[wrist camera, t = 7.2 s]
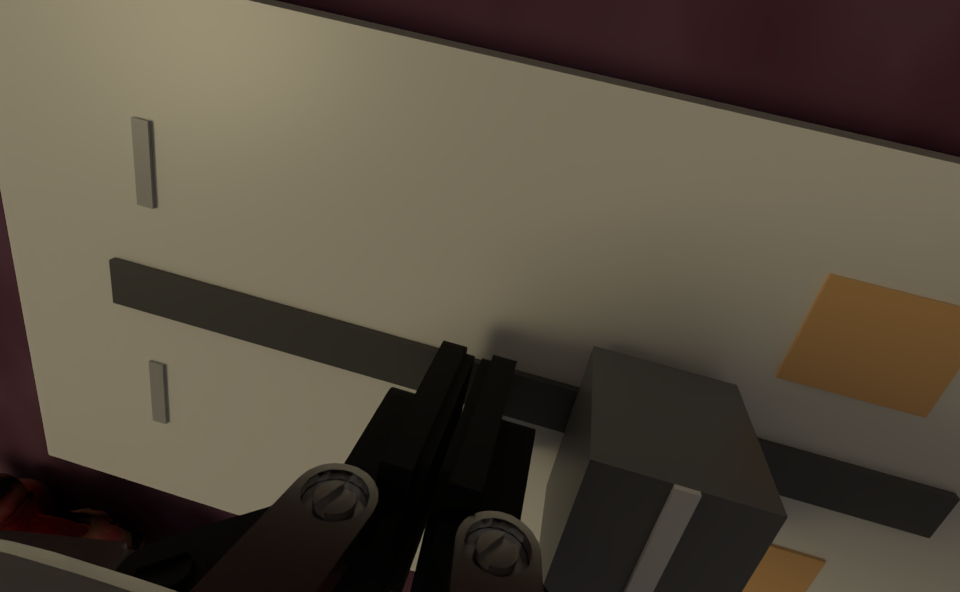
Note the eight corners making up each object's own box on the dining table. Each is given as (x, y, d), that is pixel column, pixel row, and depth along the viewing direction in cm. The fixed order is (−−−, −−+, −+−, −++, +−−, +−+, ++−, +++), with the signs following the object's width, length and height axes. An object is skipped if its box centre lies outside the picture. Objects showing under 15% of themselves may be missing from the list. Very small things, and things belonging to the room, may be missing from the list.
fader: (593, 346, 12) (590, 463, 9) (736, 384, 12) (789, 521, 8) (546, 485, 14) (528, 627, 10) (670, 522, 13) (691, 680, 10)
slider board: (40, -54, 13) (-57, -70, 11) (1246, 222, 11) (1385, 263, 9) (99, 416, 19) (42, 458, 18) (879, 657, 17) (915, 737, 15)
